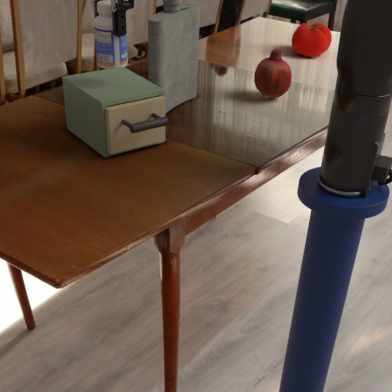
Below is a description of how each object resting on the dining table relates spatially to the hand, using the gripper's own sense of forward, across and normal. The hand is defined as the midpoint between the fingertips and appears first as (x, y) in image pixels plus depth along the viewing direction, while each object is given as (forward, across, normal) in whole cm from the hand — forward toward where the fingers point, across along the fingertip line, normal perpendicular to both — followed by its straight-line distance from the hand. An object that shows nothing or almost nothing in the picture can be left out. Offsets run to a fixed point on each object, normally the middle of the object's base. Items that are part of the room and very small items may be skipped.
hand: (110, 30), depth 106 cm
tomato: (+18, +20, -69) cm, 74 cm away
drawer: (+17, -4, 0) cm, 18 cm away
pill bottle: (+6, 0, 0) cm, 6 cm away
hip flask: (+18, +8, -18) cm, 27 cm away
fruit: (+18, +1, -39) cm, 43 cm away
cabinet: (+18, 0, 0) cm, 18 cm away
